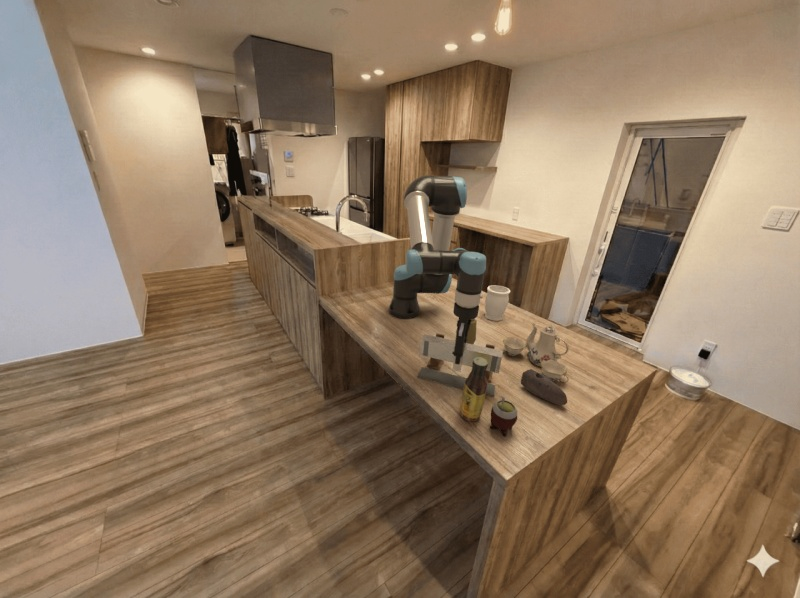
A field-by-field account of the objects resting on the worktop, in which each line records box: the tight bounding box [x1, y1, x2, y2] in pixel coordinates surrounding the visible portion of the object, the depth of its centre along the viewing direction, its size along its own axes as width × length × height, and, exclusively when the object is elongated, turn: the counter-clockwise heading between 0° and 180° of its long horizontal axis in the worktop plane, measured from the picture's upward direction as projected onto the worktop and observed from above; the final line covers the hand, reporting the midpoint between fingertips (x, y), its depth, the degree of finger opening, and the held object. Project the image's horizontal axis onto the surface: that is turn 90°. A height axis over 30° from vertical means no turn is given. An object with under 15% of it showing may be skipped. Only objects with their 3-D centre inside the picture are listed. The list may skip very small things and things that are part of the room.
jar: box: [484, 284, 511, 322], centre depth 154 cm, size 11×10×15 cm
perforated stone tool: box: [520, 369, 568, 406], centre depth 104 cm, size 15×5×7 cm, turn 38°
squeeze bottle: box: [466, 318, 477, 345], centre depth 128 cm, size 8×8×18 cm
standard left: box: [426, 332, 445, 371], centre depth 117 cm, size 5×7×11 cm
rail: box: [419, 333, 504, 374], centre depth 105 cm, size 26×4×6 cm, turn 70°
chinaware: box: [502, 322, 570, 384], centre depth 120 cm, size 28×17×17 cm, turn 36°
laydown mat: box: [416, 366, 496, 398], centre depth 110 cm, size 26×6×1 cm, turn 70°
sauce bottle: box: [459, 357, 488, 422], centre depth 92 cm, size 7×6×20 cm
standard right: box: [485, 343, 496, 383], centre depth 112 cm, size 5×7×11 cm
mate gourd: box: [489, 395, 518, 438], centre depth 89 cm, size 8×8×15 cm
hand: (457, 366), depth 107 cm, fingers closed on rail, 4 cm apart
